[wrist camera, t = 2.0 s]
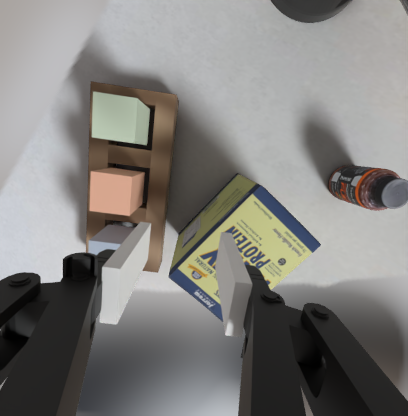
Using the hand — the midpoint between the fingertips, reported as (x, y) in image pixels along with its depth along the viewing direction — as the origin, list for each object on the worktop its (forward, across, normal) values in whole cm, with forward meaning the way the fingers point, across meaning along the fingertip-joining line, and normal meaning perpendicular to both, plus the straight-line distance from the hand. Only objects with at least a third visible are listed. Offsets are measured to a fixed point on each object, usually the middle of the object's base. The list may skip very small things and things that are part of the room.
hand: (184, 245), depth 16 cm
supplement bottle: (+25, +26, +5) cm, 36 cm away
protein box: (+25, +7, -5) cm, 26 cm away
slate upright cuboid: (+21, -10, -9) cm, 25 cm away
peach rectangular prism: (+21, -10, 0) cm, 23 cm away
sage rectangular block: (+21, -10, +9) cm, 25 cm away
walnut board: (+25, -10, 0) cm, 27 cm away
